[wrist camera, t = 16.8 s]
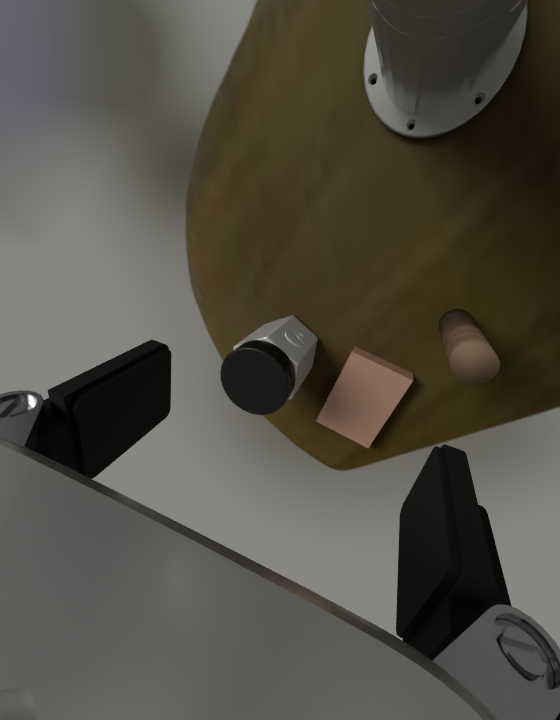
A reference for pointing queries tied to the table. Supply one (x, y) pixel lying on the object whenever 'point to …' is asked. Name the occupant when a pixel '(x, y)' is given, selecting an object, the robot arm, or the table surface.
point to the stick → (467, 348)
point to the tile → (364, 396)
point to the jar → (269, 366)
